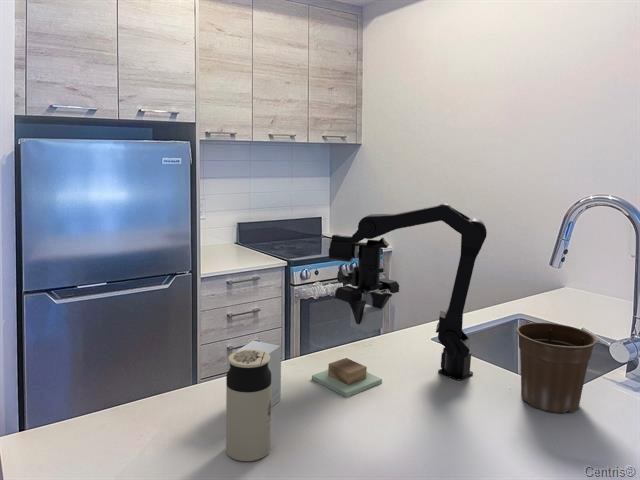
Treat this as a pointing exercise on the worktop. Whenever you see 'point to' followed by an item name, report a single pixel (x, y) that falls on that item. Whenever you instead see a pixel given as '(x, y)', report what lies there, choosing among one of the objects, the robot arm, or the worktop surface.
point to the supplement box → (270, 366)
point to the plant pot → (553, 365)
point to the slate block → (368, 319)
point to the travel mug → (248, 405)
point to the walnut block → (347, 371)
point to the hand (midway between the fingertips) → (366, 321)
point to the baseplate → (344, 388)
